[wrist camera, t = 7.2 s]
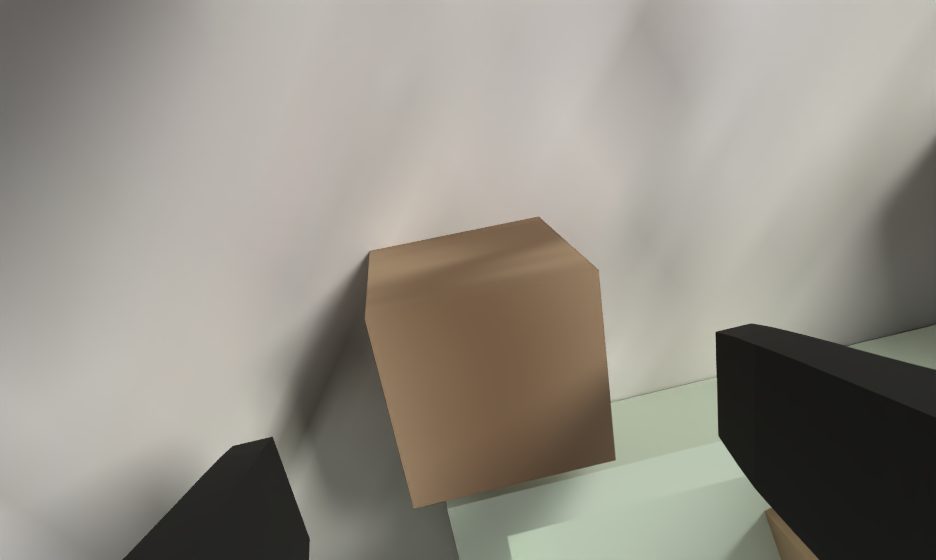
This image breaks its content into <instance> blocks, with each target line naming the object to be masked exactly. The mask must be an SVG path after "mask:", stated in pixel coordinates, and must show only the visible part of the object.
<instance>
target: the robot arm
mask: <svg viewBox="0 0 936 560" xmlns="http://www.w3.org/2000/svg"><path fill="white" fill-rule="evenodd" d="M716 365H717V406H718V436H719V438H720V439H721V441H722V442H723V444H724V445H725V447H726V448H727V450H728V451H729V453H730V454H731V456H732V457H733V459H734V460H735V462H736V463H737V465H738V466H739V467H740V469H741V470H742V472H743V473H744V474H745V476H746V477H747V478H748V480H749V481H750V483H751V484H752V485H753V487H754V488H755V489H756V490H757V492H758V493H759V494H760V495H761V496H762V497H763V498H764V500H765V501H766V502H767V503H768V504H769V505H770V506H771V507H772V509H773V510H774V511H775V512H776V513H777V514H778V515H779V516H780V517H781V519H782V520H783V521H784V522H785V523H786V524H787V525H788V526H789V527H790V529H791V530H792V531H793V532H794V533H795V534H796V535H797V536H798V537H799V538H800V539H801V541H802V542H803V543H804V544H805V545H806V546H807V547H808V548H809V549H810V550H811V552H812V553H813V554H814V555H815V556H816V557H817V558H818V559H819V560H936V370H935V369H931V368H927V367H923V366H919V365H915V364H911V363H907V362H903V361H900V360H896V359H892V358H888V357H884V356H881V355H877V354H873V353H869V352H866V351H862V350H858V349H855V348H851V347H847V346H843V345H840V344H836V343H832V342H829V341H825V340H821V339H817V338H814V337H810V336H806V335H802V334H798V333H794V332H790V331H786V330H782V329H777V328H773V327H768V326H763V325H757V324H747V325H743V326H739V327H734V328H730V329H726V330H722V331H718V332H716ZM309 542H310V538H309V536H308V533H307V530H306V527H305V525H304V522H303V519H302V516H301V514H300V511H299V508H298V505H297V503H296V500H295V497H294V494H293V492H292V489H291V486H290V483H289V481H288V478H287V475H286V472H285V470H284V467H283V464H282V461H281V459H280V456H279V453H278V450H277V448H276V445H275V442H274V439H273V437H269V438H265V439H261V440H257V441H253V442H248V443H244V444H240V445H236V446H232V447H231V448H230V449H229V450H228V451H227V452H226V453H225V454H224V455H223V456H222V457H220V458H219V459H218V460H217V461H216V462H215V463H214V465H213V466H212V467H211V468H210V469H209V470H208V471H207V472H206V473H205V474H204V475H203V476H202V477H201V478H200V479H199V480H198V481H197V482H196V483H195V484H194V485H193V486H192V488H191V489H190V490H189V491H188V492H187V493H186V494H185V495H184V496H183V497H182V498H181V499H180V500H179V501H178V502H177V504H176V505H175V506H174V507H173V508H172V509H171V510H170V511H169V512H168V513H167V514H166V515H165V516H164V517H163V518H162V519H161V520H160V521H159V522H158V523H157V525H156V526H155V527H154V528H153V529H152V530H151V531H150V532H149V533H148V534H147V535H146V536H145V537H144V538H143V539H142V540H141V541H140V542H139V543H138V544H137V546H136V547H135V548H134V549H133V550H132V551H131V552H130V553H129V554H128V555H127V556H126V557H125V558H124V559H123V560H309Z"/></svg>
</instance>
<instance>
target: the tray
mask: <svg viewBox="0 0 936 560" xmlns="http://www.w3.org/2000/svg"><path fill="white" fill-rule="evenodd" d="M847 347H851V348H855V349H858V350H862V351H866V352H869V353H873V354H877V355H881V356H884V357H888V358H892V359H896V360H900V361H903V362H907V363H911V364H915V365H919V366H923V367H927V368H931V369H935V370H936V325H933V326H929V327H924V328H920V329H916V330H912V331H908V332H904V333H899V334H895V335H891V336H887V337H883V338H879V339H874V340H870V341H866V342H862V343H858V344H854V345H849V346H847ZM611 412H612V423H613V434H614V445H615V456H616V460H615V461H611V462H607V463H602V464H598V465H594V466H590V467H586V468H582V469H577V470H573V471H569V472H565V473H561V474H557V475H552V476H548V477H544V478H540V479H536V480H532V481H527V482H523V483H519V484H515V485H511V486H507V487H502V488H498V489H494V490H490V491H486V492H482V493H477V494H473V495H469V496H465V497H461V498H457V499H452V500H448V501H446V505H447V510H448V514H449V519H450V523H451V527H452V531H453V535H454V539H455V543H456V547H457V551H458V555H459V560H781V558H780V555H779V552H778V549H777V546H776V543H775V540H774V538H773V535H772V532H771V529H770V526H769V523H768V520H767V517H766V514H765V512H764V511H766V510H768V509H770V508H772V507H771V506H770V505H769V504H768V503H767V502H766V501H765V500H764V498H763V497H762V496H761V495H760V494H759V493H758V492H757V490H756V489H755V488H754V487H753V485H752V484H751V483H750V481H749V480H748V478H747V477H746V476H745V474H744V473H743V472H742V470H741V469H740V467H739V466H738V465H737V463H736V462H735V460H734V459H733V457H732V456H731V454H730V453H729V451H728V450H727V448H726V447H725V445H724V444H723V442H722V441H721V439H720V438H719V436H718V406H717V377H716V378H712V379H707V380H703V381H699V382H695V383H691V384H687V385H682V386H678V387H674V388H670V389H666V390H662V391H657V392H653V393H649V394H645V395H641V396H636V397H632V398H628V399H624V400H620V401H616V402H611Z"/></svg>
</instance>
